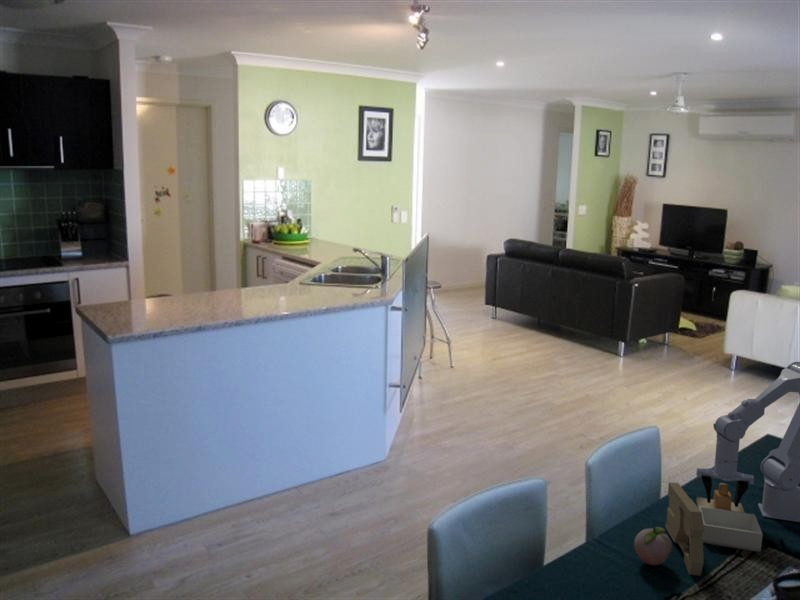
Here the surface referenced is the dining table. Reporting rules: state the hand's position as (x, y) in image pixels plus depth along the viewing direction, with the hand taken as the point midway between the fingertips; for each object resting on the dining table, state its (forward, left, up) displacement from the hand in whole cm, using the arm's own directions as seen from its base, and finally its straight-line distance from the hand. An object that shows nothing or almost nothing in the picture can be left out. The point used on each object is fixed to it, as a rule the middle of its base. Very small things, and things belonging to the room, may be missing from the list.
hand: (722, 503), depth 187 cm
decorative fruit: (+20, +34, -4) cm, 40 cm away
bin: (0, +13, -3) cm, 13 cm away
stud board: (0, 0, -3) cm, 3 cm away
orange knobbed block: (0, 0, -2) cm, 2 cm away
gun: (+12, +24, -4) cm, 27 cm away
